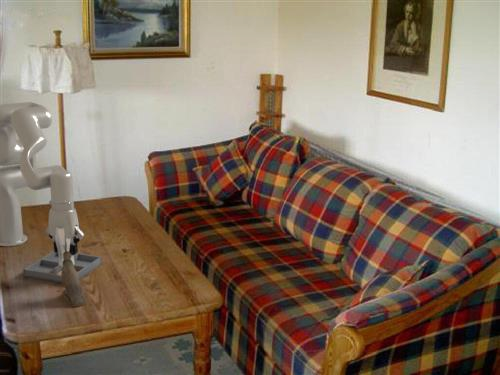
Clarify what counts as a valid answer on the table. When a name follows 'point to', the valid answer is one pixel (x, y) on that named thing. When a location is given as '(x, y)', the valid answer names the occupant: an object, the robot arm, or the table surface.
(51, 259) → the gray compartment tray
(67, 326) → the table surface
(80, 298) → the brown carved statuette
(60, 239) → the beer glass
